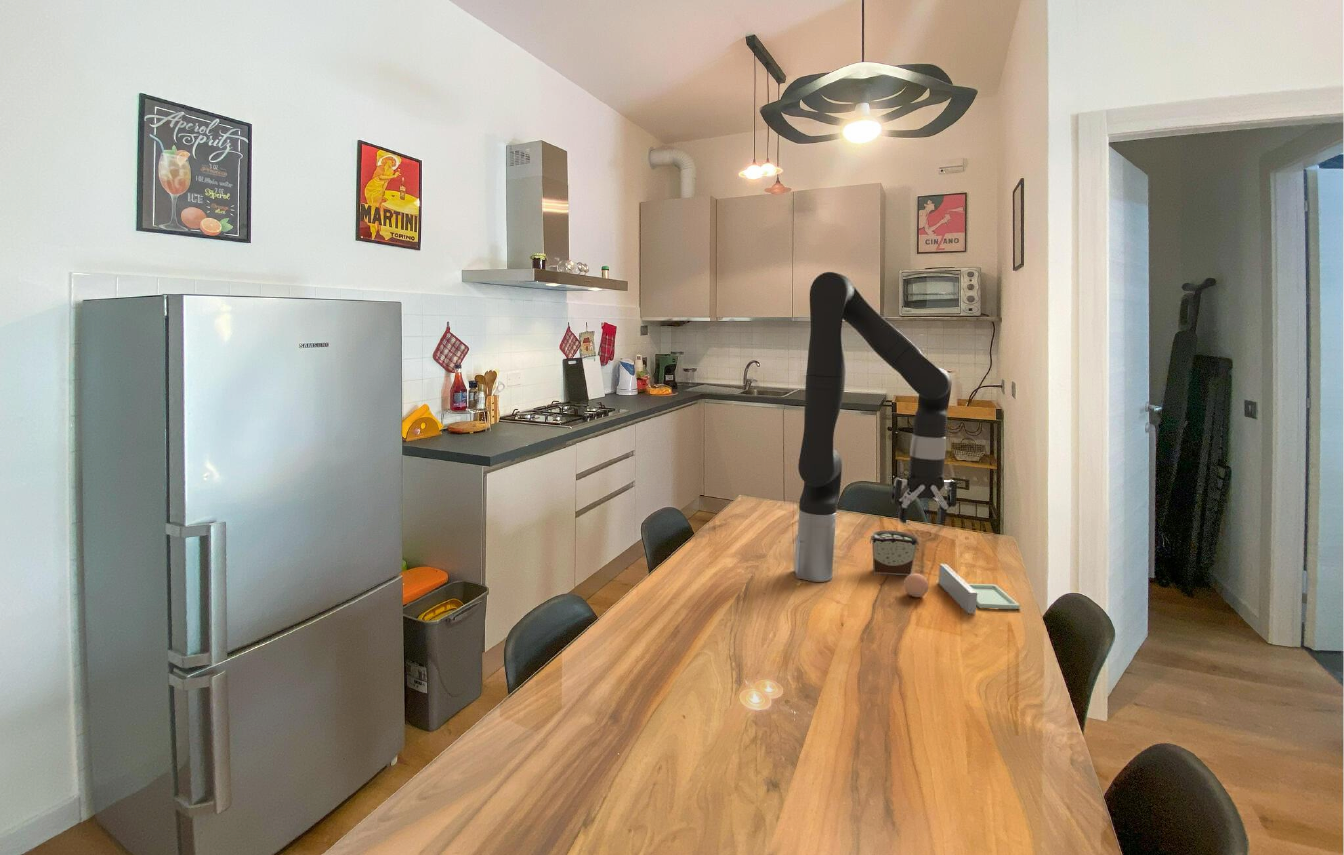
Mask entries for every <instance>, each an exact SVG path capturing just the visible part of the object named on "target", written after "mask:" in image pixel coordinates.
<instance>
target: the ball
mask: <svg viewBox="0 0 1344 855" xmlns="http://www.w3.org/2000/svg"><path fill="white" fill-rule="evenodd" d="M903 587H904V588H903V589H904V590H905V592H906V593H907V595H909V596H911V597H913V598H921V597H923V596H925V595H926V594H927V593H928V592H929V587H930V586H929V582H928V580H927V578H926V577H925V576H924V575H923V574H920V573H911V574H910V575H906V577H905V578H904V581H903Z"/></svg>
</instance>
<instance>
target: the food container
mask: <svg viewBox="0 0 1344 855" xmlns="http://www.w3.org/2000/svg"><path fill="white" fill-rule="evenodd" d="M870 536H871V537H870V539H869V544H871V543H872V544H871V545H872V568H873V574H881V575H882V574H883V575H897V576H898V575H899V576H900V575H901V576H902V575H903V576H908V575H910V574H912V571H913V565H914V560H915V557H916V556H915V555H916V551H917V546H918V547H920V540H919V539H918V538H919V537H917V536H915V535H914V534H912V533H911V534H910V533H908V532H904V531H900V530H899V531H898V530H891V529H890V530H885V529H884V530H877V531H874V532H873V533H872V535H870Z"/></svg>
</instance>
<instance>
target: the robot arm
mask: <svg viewBox="0 0 1344 855" xmlns="http://www.w3.org/2000/svg"><path fill="white" fill-rule="evenodd" d="M864 298H865V297H863V296H862V294H861V293H860V292H859V290H857V288H856V287H855V285H854V284H853V283H852V281H851V279H849V278H848V277H847V276H846V275H843V274H841V273H837V272H834V271H832V272H831V271H827V272H823V273H821V274H819V275H818V276H817V277H816V278H814V280H813V282H812V283H811V285H810V289H809V311H810V312H809V313H810V314H809V316H810V321H809V322H810V336H809V343H808V352H807V363H806V374H805V388H804V389H805V390H804V391H805V392H804V395H805V396H804V414H803V415H804V416H803V417H804V418H803V419H804V420H803V421H804V423H803V424H804V426H803V435H802V441H801V447H800V454H799V459H798V464H797V466H798V467H797V468H798V473H799V476H800V478H801V480H802V481H803V487H802V488H803V489H802V493H801V495H800V498H799V504H798V507H799V508H798V521H797V523H798V524H797V534H796V535H795V546H794V548H795V549H794V560H793V561H794V564H793V571H794V573H795V576H796V578H797V580H798V579H799V580H804V581H809V582H814V583H815V582H816V583H817V582H819V583H820V582H821V583H822V582H828V581H831V580H832V579H833V572H834V560H835V559H834V556H835V544H836V543H835V541H836V540H835V539H836V528H837V526H836V524H837V522H836V521H837V512H838V511H837V510H838V503H839V499H840V494H841V493H840V492H841V483H842V473H843V472H842V470H843V464H842V463H843V462H842V458H841V456H840V453H838V451H837V450H835V448H834V439H835V438H834V437H835V436H834V435H835V429H836V425H837V420H838V419H839V415H840V411H841V407H842V403H843V400H844V394H845V387H846V386H845V385H846V383H845V382H846V358H845V353H844V347H843V341H842V340H843V338H842V327H843V320H844V321H845V322H846V323H847V324H849V325H850V326H851V327H852V328H854V329H855V331H856V332H857V333H858V334H859V335H860V336H861V337H862V338H863V340H865V342H866V343H867V344H868V345H869V347H870V348H871V349H872V350H873V351H874V352H875V353H876V354H877V355H878V356H879V357H880V358H881V359H882V360H883V361H884V362H885V363H887V364H888V365H889V366H890V367H891V368H892V369H893V370H894V371H896V372H897V373H899V375H900V376H901V377H902V379H904V381H905V382H906V383H907V384H908V385H909V386H910V387H911V388H912V389H913V390H914V392H916V393H917V394H918V402H917V409H916V411H915V415H914V419H913V430H912V438H911V442H910V448H909V460H908V461H909V462H908V463H909V464H908V476H907V477H906V479H904V478H902V479H901V478H899V477H894V478H893V484H892V491H891V495H890V496H891V497H890V501H891V502H892V503H893V504H894V505H895V506H898V511H897V512H898V513H897V518H898V520H900V522H901V523H902V524H906V523H907V515H908V514H907V513H908V506H909V505H910V503H912V502H913V501H914V500H915V499H916V498H917V499H930V500H931V499H934V500H935V501H936V502H937V504H938V505H939V506H937V514H936V523H937V524H938V525H944V523H946V521H947V512H948V511H947V510H948V509H949V508H951V507H952V508H955V507H956V506H957V498H958V497H957V494H958V493H957V492H958V489H957V488H958V483H957V482H956V481H955V480H953V479H948V480H944V472H945V460H946V448H947V441H946V436H947V426H948V409H949V404H950V399H951V394H952V393H951V391H952V386H953V385H952V378H951V375H950V373H949V372H948V371H947V370H945V369H943V368H941V367H938V366H936V365H935V364H934V363H933V362H931V361H930V360H929V359H928V358H927V357H926V356H924V354H923V353H922V351H921V350H920V349H919V347H917V346H916V345H915V344H914V343H913V342H912V341H911V340H910V339H908V337H906V336H905V335H904V334H903V333H902V332H901V331H899V330H898V329H897V328H896V327H894V326H893V325H892V324H891V323H890V322H889V321H887V319H885V318H884V317H883V316H882V315H880V314H879V313H878V312H877V311H876V310H875V309H874V308H873V307H872V306H871V305H870V304H869V303H868V302H867V301H866V300H865V299H864ZM905 486H907V488H908V489H907V490H906V491H905V492H904V493H903V496H902V497H901V493H902V489H904V488H905ZM943 487H945V488H944V489H946V500H945V498H944V497H943V495H942V494H941V493H940V491H942V489H943Z"/></svg>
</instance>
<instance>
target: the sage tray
mask: <svg viewBox="0 0 1344 855" xmlns="http://www.w3.org/2000/svg"><path fill="white" fill-rule="evenodd" d="M967 584H968V585H969V586H971V587H972V588H973V589H974V590H975V591H976V592H977V602H976V605H977V606H978V607H979V608H998V609H997V610H999V609H1021V608H1020V606H1021V604H1019V603H1018V602H1017V601H1016V600H1014V598H1012V597H1011V596H1010V595H1008V593H1006V592H1005V591H1004V590H1002V588H1000V586H998V585H997V584H991V583H990V584H988V583H987V584H986V583H985V584H984V583H981V584H980V583H967ZM977 606H976V607H977ZM978 607H977V608H978ZM979 608H978V609H979Z"/></svg>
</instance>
